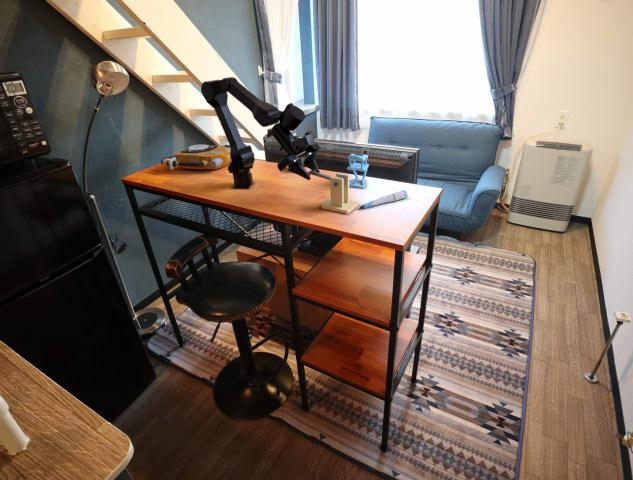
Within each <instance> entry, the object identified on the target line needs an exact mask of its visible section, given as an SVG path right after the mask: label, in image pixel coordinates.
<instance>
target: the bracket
mask: <svg viewBox="0 0 633 480" xmlns="http://www.w3.org/2000/svg"><path fill="white" fill-rule="evenodd" d="M337 176H340V177H343V178H346V179H345V185H344V179H343V178H337ZM349 181H350V174H347V173H341V172H336V174H335V176H331V177H330V180H329V185H330V186H329V187H330V188H329V190H330V197H329V198H328V199H327V200H326V201H325V202H323V203H322V204H321V205H320V208H321V209H322V210H323V209H324V210H328V211H332V212H336V213H342V214H346V215H349V214H350V213H351V212H352V211H353V210H355V209H356V208H357V207H358V206H359V201H356V200H352V199H350V187H349Z"/></svg>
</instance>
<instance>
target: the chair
mask: <svg viewBox="0 0 633 480" xmlns="http://www.w3.org/2000/svg"><path fill="white" fill-rule="evenodd" d="M368 158H369V155H367V154H363V155H359V154H355V153H350V154H349V155H348V157H347V160H348V163H349V165H348V166H347V168H346V170H347V171H352V172H353V173H352V174H354V177H355V178H353V179H351V180H349V188H358V189H365V188H366V175H367V172H368V170H369V169H368V168H369V167H370V164H369V163H368ZM357 171H358V172H363V175H362V178H361V184H355V183H356V182H358V181H359V180H360V179H359V178H360V177H359V176H358V173H357Z"/></svg>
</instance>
